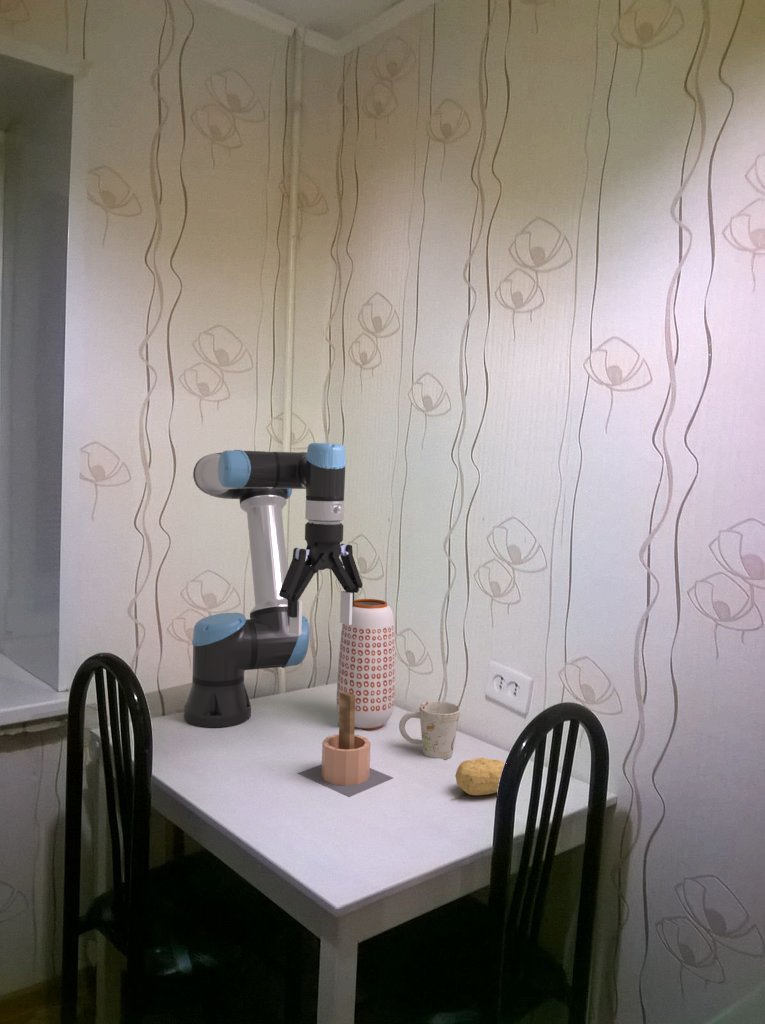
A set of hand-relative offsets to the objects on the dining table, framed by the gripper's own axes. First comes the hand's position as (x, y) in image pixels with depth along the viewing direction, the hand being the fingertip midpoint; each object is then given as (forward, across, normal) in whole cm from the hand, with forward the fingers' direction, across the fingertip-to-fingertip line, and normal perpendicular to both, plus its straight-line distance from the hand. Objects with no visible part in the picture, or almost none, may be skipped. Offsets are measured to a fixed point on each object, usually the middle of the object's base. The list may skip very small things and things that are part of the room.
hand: (321, 628), depth 154 cm
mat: (+27, -2, -10) cm, 29 cm away
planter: (+27, +22, +8) cm, 36 cm away
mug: (+27, +19, -13) cm, 35 cm away
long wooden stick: (+26, -2, -10) cm, 27 cm away
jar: (+26, -2, -10) cm, 28 cm away
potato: (+27, +12, -32) cm, 44 cm away
